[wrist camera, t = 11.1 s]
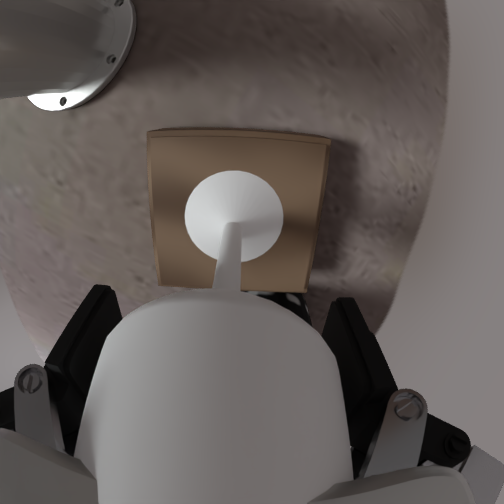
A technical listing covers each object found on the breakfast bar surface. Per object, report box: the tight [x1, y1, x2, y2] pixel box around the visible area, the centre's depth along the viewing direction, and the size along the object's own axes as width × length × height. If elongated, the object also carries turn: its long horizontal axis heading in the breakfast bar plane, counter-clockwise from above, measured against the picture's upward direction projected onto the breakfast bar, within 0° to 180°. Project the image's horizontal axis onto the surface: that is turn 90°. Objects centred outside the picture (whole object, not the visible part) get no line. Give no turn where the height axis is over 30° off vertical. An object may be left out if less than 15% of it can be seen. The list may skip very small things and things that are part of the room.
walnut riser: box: [147, 127, 331, 293], centre depth 20 cm, size 12×12×4 cm
